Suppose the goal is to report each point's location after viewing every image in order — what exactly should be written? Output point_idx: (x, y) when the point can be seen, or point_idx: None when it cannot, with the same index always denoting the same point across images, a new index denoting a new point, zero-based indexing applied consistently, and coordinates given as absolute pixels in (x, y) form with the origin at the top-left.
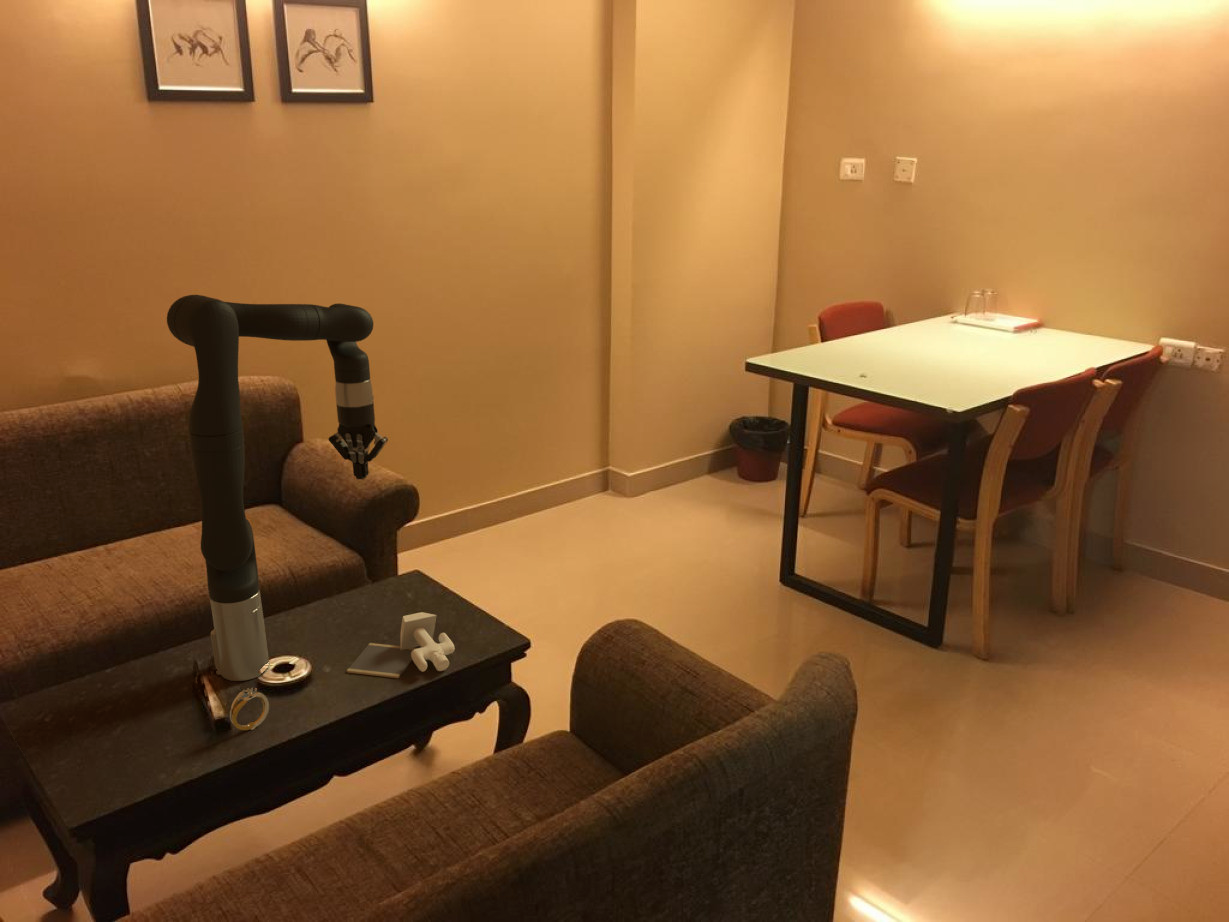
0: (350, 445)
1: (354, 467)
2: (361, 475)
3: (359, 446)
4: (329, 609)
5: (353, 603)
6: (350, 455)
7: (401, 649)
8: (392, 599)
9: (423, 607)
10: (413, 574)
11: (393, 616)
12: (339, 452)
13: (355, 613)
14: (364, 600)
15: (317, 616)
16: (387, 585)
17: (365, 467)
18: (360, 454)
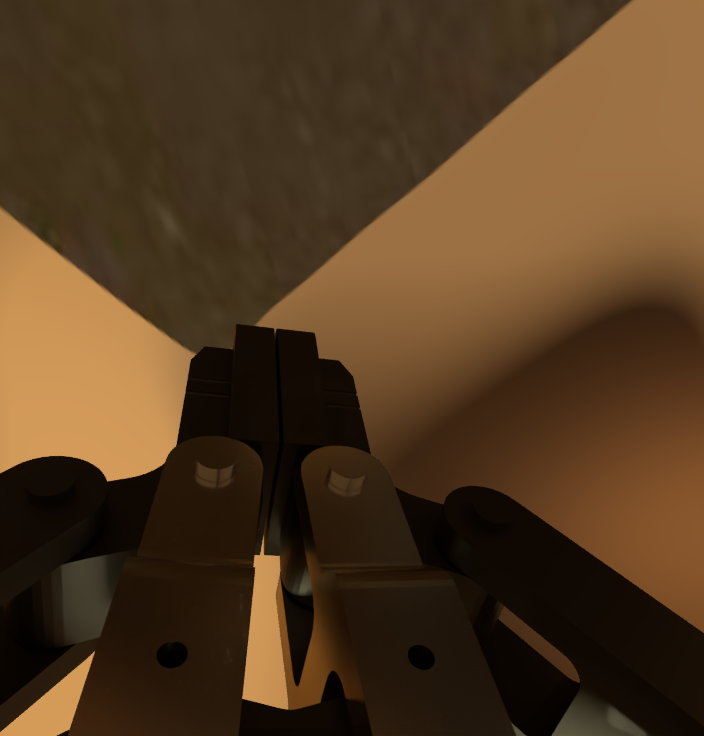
0: (432, 717)
1: (343, 426)
2: (243, 346)
3: (179, 709)
4: (422, 102)
5: (349, 151)
6: (412, 541)
7: None
8: (219, 187)
9: (81, 128)
10: None
11: (170, 50)
12: (616, 580)
13: (322, 72)
14: (316, 175)
15: (454, 45)
16: (268, 284)
17: (180, 423)
18: (211, 556)
